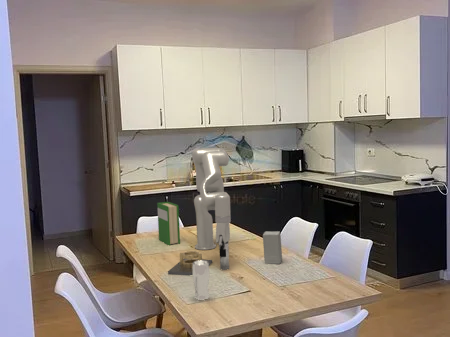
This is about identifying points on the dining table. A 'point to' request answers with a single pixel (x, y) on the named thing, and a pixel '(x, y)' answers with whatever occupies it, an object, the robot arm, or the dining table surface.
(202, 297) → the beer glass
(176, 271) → the collar stand
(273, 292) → the dining table surface
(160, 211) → the hardback book
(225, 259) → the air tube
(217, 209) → the robot arm
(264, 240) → the skincare box
